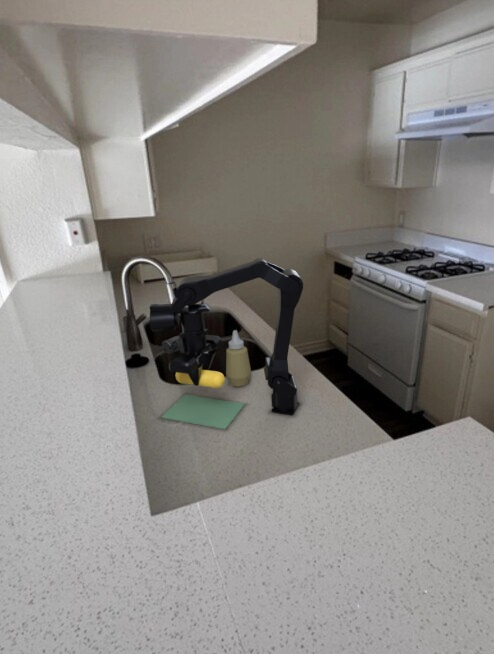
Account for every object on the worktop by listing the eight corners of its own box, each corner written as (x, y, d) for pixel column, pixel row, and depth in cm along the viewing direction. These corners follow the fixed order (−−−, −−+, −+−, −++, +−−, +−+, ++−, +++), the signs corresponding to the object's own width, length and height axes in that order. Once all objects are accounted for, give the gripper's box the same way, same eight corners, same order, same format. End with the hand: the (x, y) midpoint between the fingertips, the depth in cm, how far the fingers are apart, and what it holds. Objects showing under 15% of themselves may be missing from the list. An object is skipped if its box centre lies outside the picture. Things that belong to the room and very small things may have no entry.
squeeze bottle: (253, 377, 138) (250, 326, 130) (250, 389, 131) (246, 336, 123) (229, 376, 139) (224, 326, 131) (224, 388, 131) (219, 336, 124)
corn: (228, 384, 113) (226, 369, 112) (221, 392, 110) (219, 377, 108) (181, 378, 118) (179, 364, 116) (173, 385, 114) (171, 371, 112)
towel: (245, 404, 122) (244, 403, 122) (225, 429, 111) (225, 428, 111) (185, 395, 129) (185, 394, 129) (161, 417, 118) (161, 416, 117)
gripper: (184, 313, 117) (191, 363, 124) (145, 338, 101) (155, 394, 108) (220, 316, 114) (225, 367, 120) (186, 342, 98) (194, 400, 104)
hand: (200, 381), depth 113 cm, fingers closed on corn, 4 cm apart
